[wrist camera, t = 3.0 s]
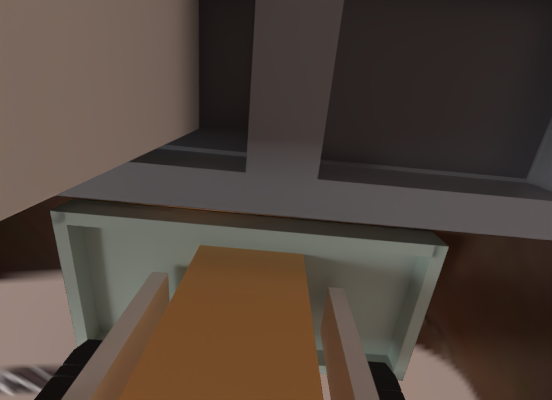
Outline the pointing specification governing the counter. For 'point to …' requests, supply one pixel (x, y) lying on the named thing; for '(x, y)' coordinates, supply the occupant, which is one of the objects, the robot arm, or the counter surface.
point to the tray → (257, 236)
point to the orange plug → (233, 332)
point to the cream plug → (90, 89)
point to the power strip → (364, 116)
